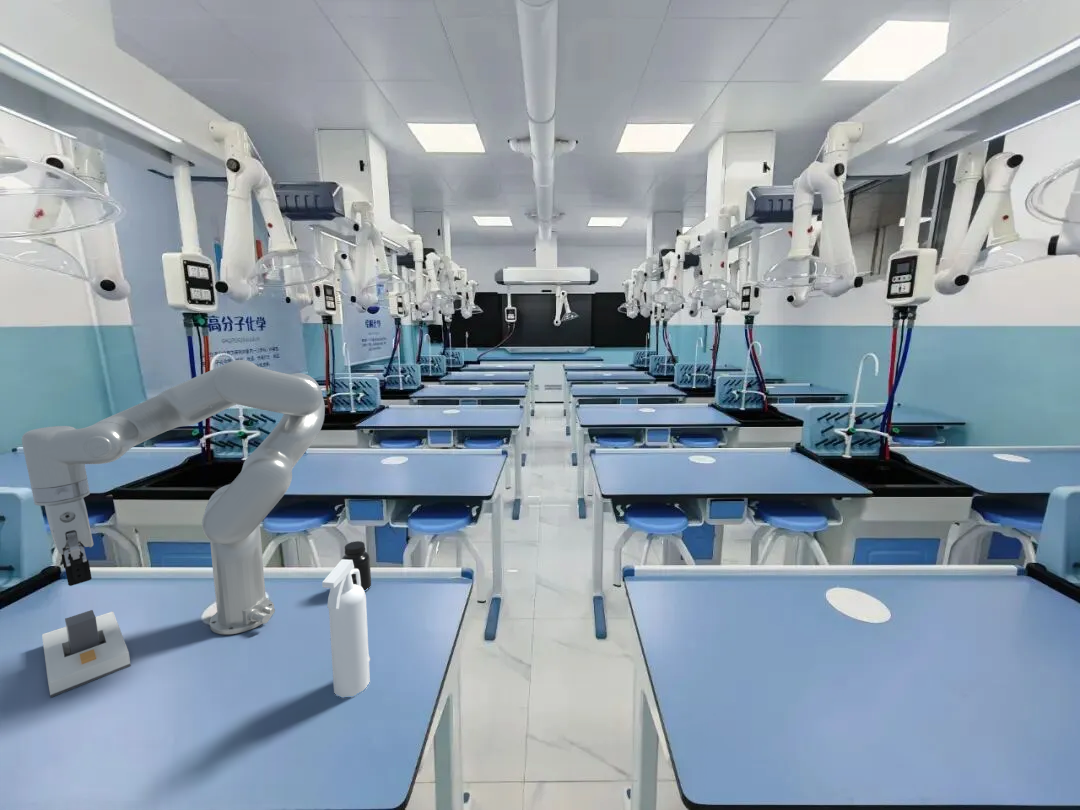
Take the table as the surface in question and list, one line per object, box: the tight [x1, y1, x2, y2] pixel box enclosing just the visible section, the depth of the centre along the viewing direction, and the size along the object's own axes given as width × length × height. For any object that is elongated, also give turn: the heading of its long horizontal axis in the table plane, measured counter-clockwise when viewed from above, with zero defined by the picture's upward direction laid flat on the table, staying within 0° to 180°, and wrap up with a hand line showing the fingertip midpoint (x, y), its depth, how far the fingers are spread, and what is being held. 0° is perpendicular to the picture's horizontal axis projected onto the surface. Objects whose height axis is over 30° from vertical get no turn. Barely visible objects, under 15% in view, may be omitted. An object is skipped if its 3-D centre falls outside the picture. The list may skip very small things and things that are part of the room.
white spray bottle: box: [321, 558, 371, 697], centre depth 87 cm, size 7×12×25 cm, turn 173°
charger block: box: [64, 609, 100, 655], centre depth 94 cm, size 4×4×8 cm
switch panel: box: [41, 611, 131, 698], centre depth 95 cm, size 20×11×4 cm, turn 48°
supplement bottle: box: [341, 540, 372, 590], centre depth 120 cm, size 7×7×12 cm
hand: (77, 573), depth 93 cm, fingers open, 9 cm apart
